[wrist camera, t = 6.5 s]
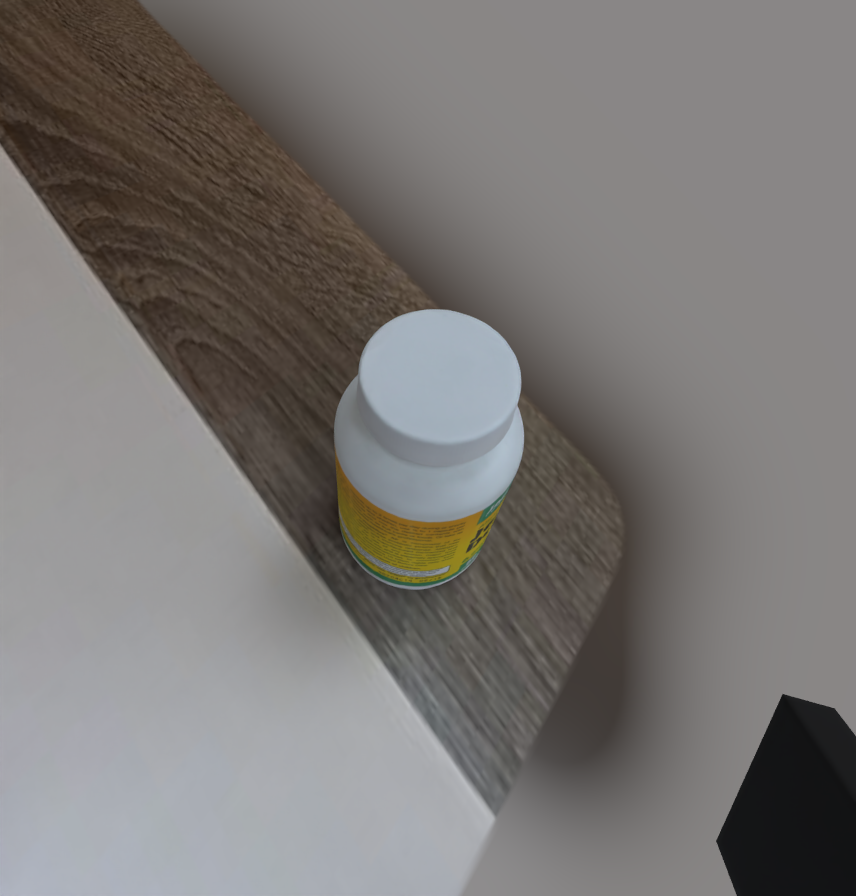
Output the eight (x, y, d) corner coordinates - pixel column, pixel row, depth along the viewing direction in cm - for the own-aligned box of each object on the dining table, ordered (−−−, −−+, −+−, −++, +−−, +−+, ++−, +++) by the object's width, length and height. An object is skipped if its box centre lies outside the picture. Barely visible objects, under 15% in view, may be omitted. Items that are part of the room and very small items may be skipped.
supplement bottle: (357, 445, 26) (357, 267, 18) (493, 472, 26) (558, 306, 18) (322, 578, 23) (303, 441, 15) (474, 608, 23) (539, 488, 15)
